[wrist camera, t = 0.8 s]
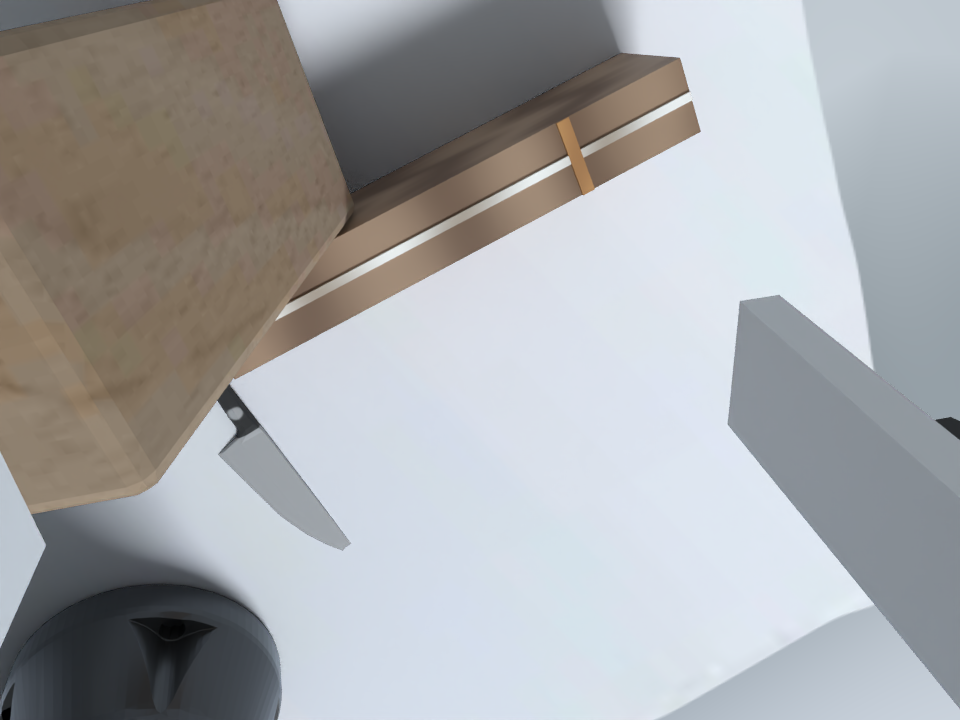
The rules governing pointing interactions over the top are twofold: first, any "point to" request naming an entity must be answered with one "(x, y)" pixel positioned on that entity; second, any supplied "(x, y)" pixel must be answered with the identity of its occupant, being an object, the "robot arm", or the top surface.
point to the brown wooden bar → (487, 189)
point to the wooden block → (147, 230)
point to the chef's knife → (275, 475)
